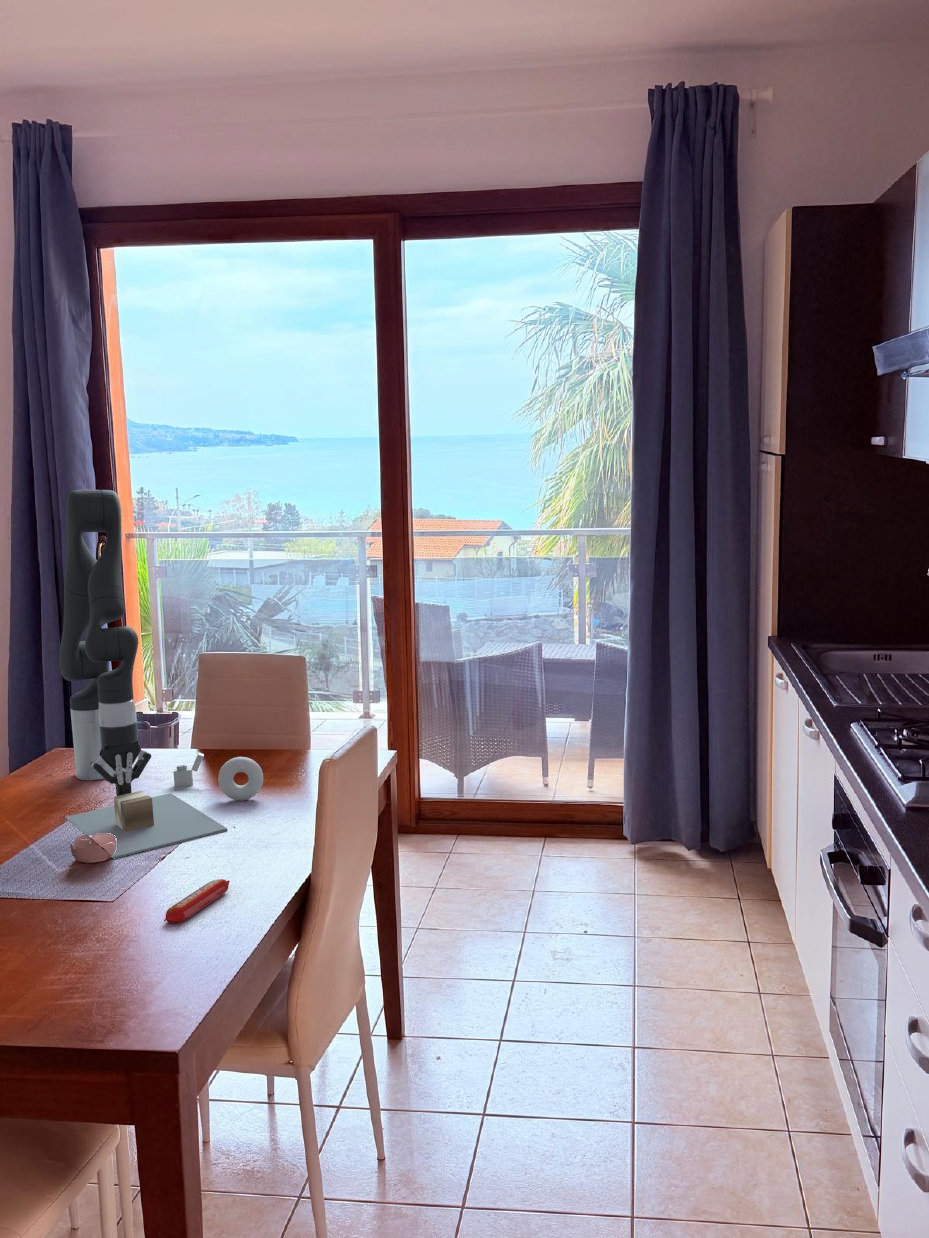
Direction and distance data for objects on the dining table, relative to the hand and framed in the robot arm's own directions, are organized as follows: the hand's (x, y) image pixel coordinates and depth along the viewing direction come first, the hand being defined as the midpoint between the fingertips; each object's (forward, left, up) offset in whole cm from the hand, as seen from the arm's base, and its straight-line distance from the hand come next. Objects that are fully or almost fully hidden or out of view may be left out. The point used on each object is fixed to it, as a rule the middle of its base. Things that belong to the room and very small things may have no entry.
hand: (124, 799), depth 235 cm
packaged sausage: (+52, -6, -5) cm, 52 cm away
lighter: (-13, +20, -5) cm, 24 cm away
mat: (+5, +2, -5) cm, 7 cm away
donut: (+4, +25, -5) cm, 26 cm away
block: (+2, 0, -1) cm, 2 cm away
